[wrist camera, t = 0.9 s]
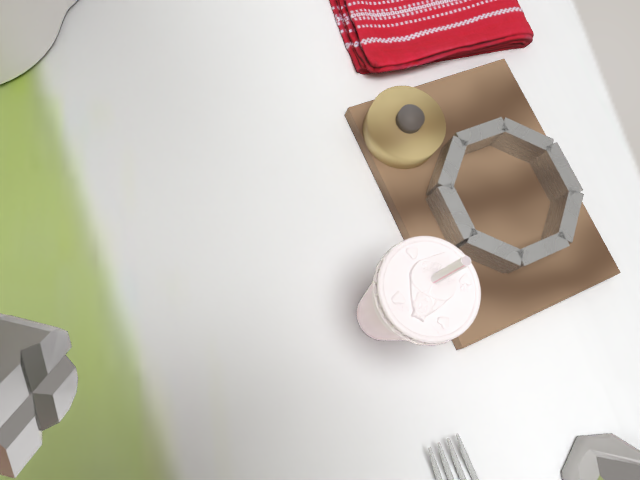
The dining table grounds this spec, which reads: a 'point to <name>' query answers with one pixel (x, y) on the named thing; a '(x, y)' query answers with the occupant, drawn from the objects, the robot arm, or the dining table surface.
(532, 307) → the carrier board
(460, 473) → the fork
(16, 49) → the robot arm
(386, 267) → the smoothie
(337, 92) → the dining table surface
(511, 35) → the dish towel
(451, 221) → the socket ring
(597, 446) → the flask
